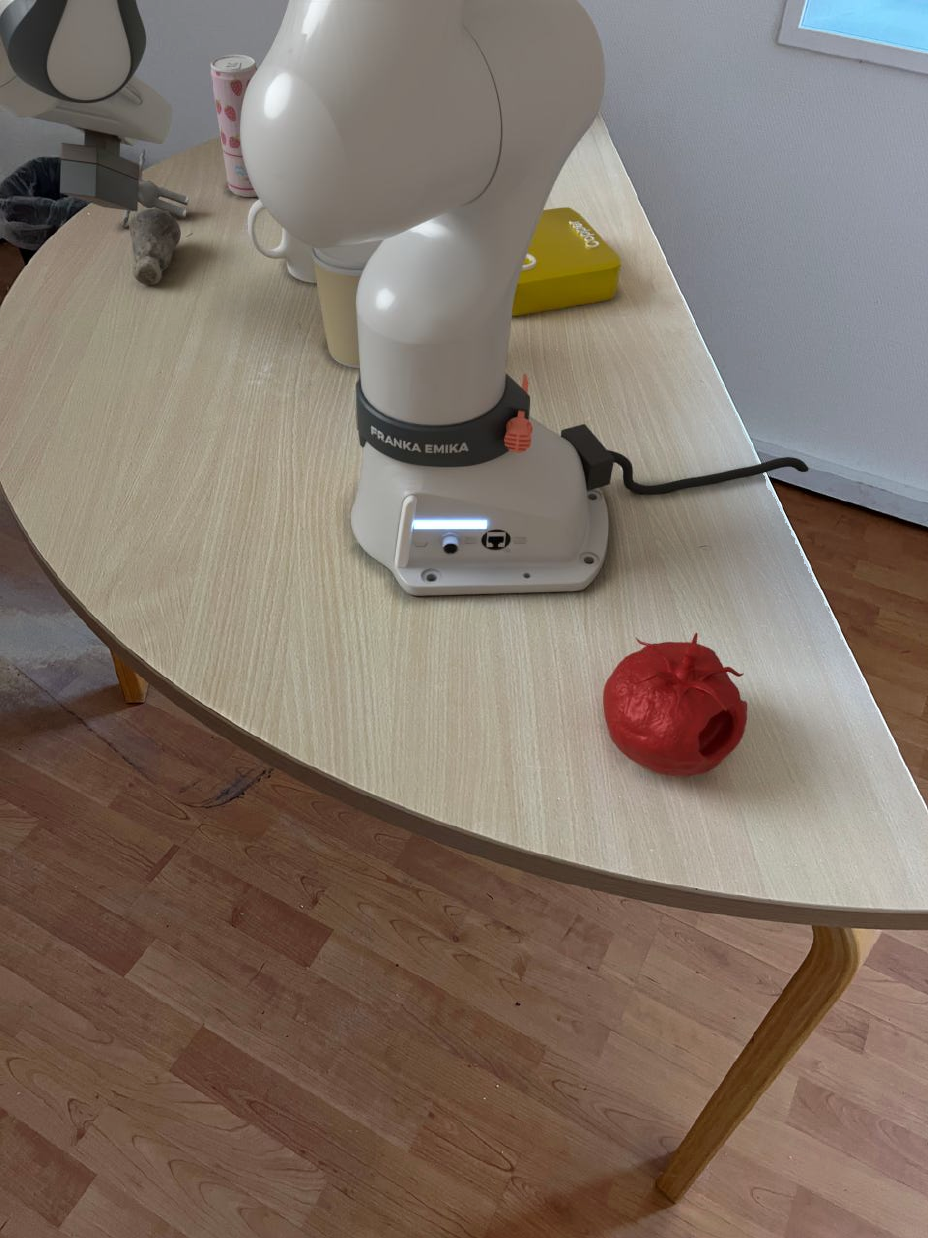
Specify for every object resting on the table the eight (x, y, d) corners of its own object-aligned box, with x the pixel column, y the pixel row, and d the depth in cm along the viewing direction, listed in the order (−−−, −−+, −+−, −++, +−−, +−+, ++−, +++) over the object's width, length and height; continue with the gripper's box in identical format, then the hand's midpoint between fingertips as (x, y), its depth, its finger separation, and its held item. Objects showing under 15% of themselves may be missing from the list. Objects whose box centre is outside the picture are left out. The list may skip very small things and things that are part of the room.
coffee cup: (427, 348, 99) (426, 239, 90) (362, 384, 94) (355, 274, 85) (367, 314, 103) (361, 207, 94) (302, 347, 98) (289, 238, 89)
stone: (161, 298, 105) (200, 238, 104) (118, 268, 102) (157, 206, 100) (146, 280, 113) (182, 223, 111) (105, 251, 109) (142, 193, 108)
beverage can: (238, 201, 119) (218, 73, 108) (222, 183, 122) (201, 57, 111) (279, 192, 121) (264, 66, 110) (263, 175, 124) (246, 50, 113)
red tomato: (579, 767, 65) (597, 688, 58) (615, 663, 71) (636, 581, 64) (719, 814, 63) (755, 738, 56) (743, 703, 69) (779, 622, 62)
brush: (103, 207, 96) (109, 63, 93) (137, 211, 96) (145, 66, 92) (59, 192, 90) (64, 37, 86) (95, 197, 89) (102, 40, 85)
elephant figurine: (176, 239, 113) (99, 211, 110) (177, 254, 118) (104, 228, 116) (198, 160, 113) (122, 130, 110) (198, 180, 119) (125, 152, 116)
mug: (268, 296, 105) (255, 205, 97) (246, 263, 109) (231, 173, 101) (366, 274, 108) (361, 184, 100) (341, 243, 113) (334, 155, 105)
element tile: (622, 299, 106) (629, 259, 103) (501, 320, 103) (503, 280, 99) (568, 238, 116) (573, 200, 112) (455, 255, 112) (456, 216, 108)
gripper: (126, 36, 77) (212, 120, 90) (-70, 1, 81) (39, 85, 95) (108, 113, 77) (195, 184, 91) (-86, 74, 82) (25, 147, 95)
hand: (114, 134), depth 93 cm, fingers closed on brush, 2 cm apart
